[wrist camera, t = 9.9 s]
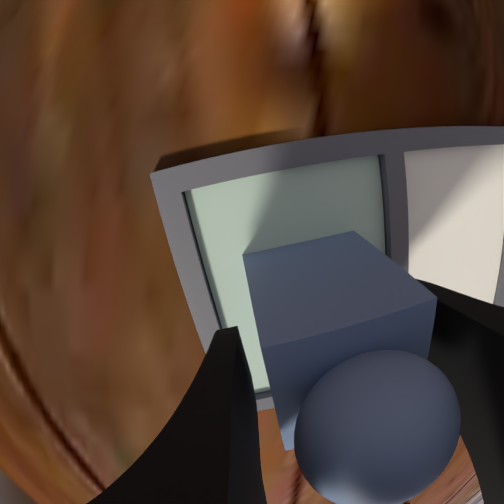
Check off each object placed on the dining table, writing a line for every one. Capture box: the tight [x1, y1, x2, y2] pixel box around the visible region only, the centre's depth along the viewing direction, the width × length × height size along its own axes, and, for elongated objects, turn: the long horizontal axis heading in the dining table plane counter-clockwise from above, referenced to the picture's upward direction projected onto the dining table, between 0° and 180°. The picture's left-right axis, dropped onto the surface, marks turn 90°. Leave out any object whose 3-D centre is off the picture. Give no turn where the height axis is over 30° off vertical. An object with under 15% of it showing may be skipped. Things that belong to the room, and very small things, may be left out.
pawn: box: [242, 231, 461, 504], centre depth 7 cm, size 4×4×8 cm
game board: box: [150, 126, 504, 411], centre depth 11 cm, size 23×11×1 cm, turn 101°
